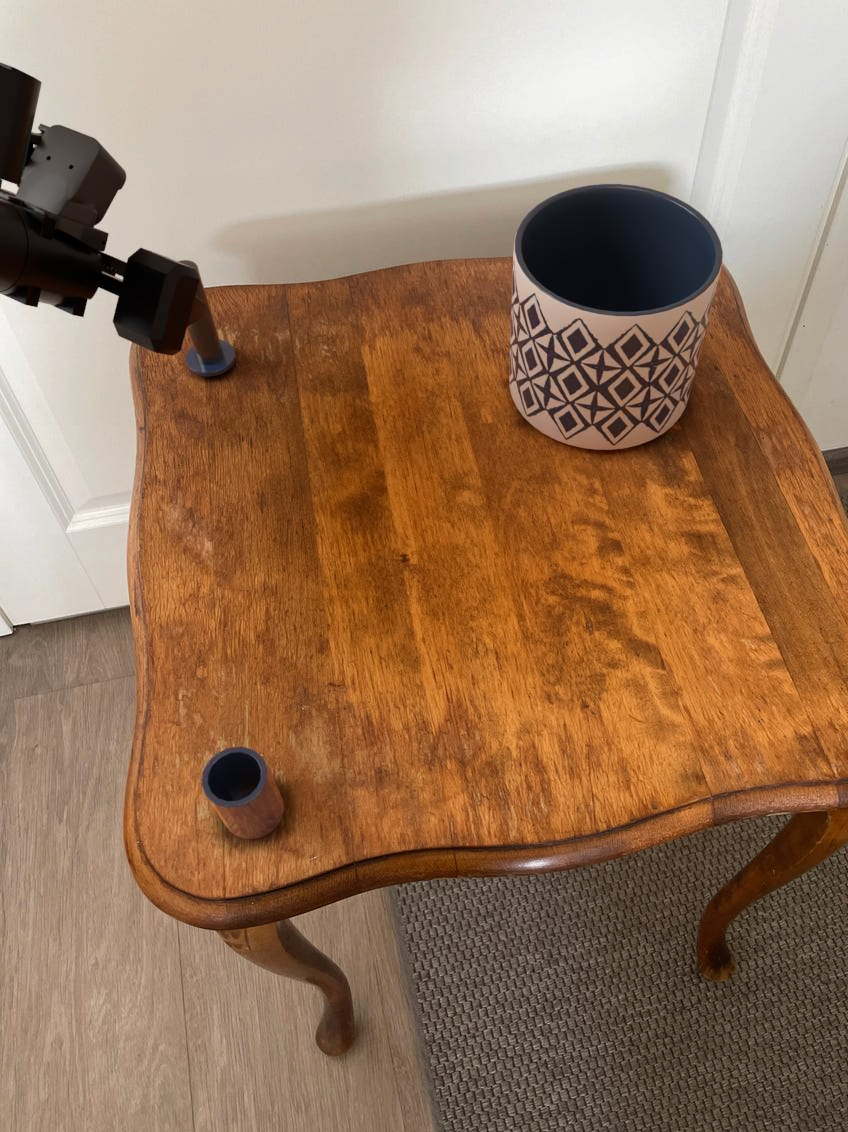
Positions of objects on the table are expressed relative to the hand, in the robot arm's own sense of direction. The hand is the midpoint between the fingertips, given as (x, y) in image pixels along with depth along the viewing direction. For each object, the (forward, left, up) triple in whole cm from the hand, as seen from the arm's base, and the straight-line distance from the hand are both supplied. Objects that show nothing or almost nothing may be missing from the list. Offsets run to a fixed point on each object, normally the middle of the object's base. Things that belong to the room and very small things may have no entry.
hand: (158, 290), depth 75 cm
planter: (+36, -4, -10) cm, 38 cm away
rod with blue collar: (+2, +2, -9) cm, 10 cm away
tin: (+6, -41, -10) cm, 43 cm away
